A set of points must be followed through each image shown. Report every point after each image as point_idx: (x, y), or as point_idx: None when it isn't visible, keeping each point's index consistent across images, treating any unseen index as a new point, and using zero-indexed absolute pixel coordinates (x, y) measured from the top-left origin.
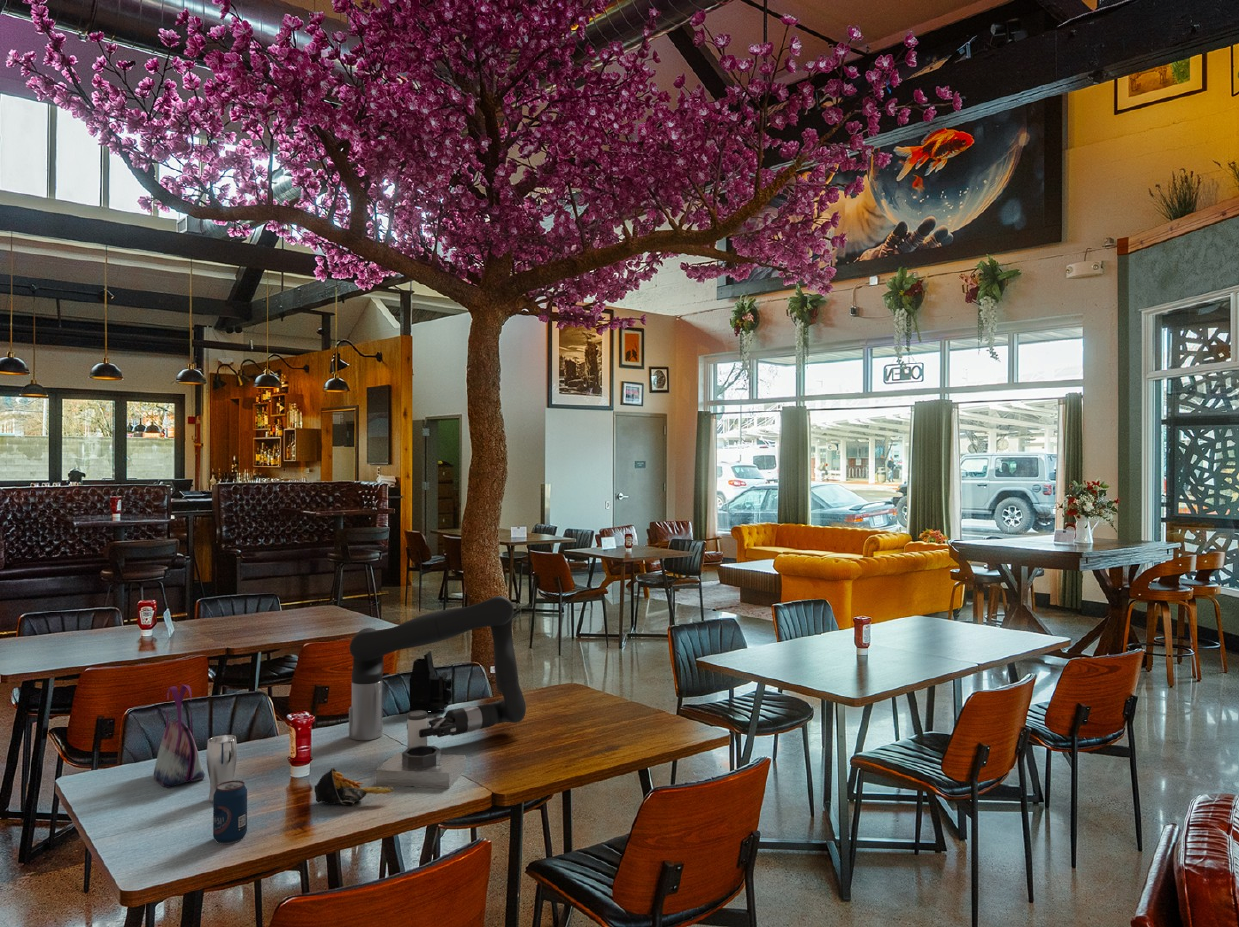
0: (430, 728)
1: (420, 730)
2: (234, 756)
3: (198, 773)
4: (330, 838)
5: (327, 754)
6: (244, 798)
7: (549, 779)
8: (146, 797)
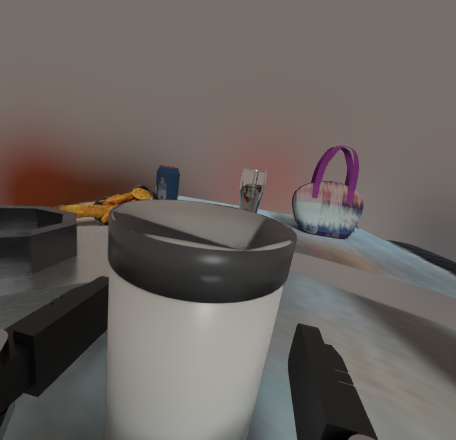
0: (31, 322)
1: (106, 277)
2: (242, 184)
3: (298, 220)
4: (82, 203)
5: (357, 299)
6: (157, 174)
7: None
8: (285, 220)
